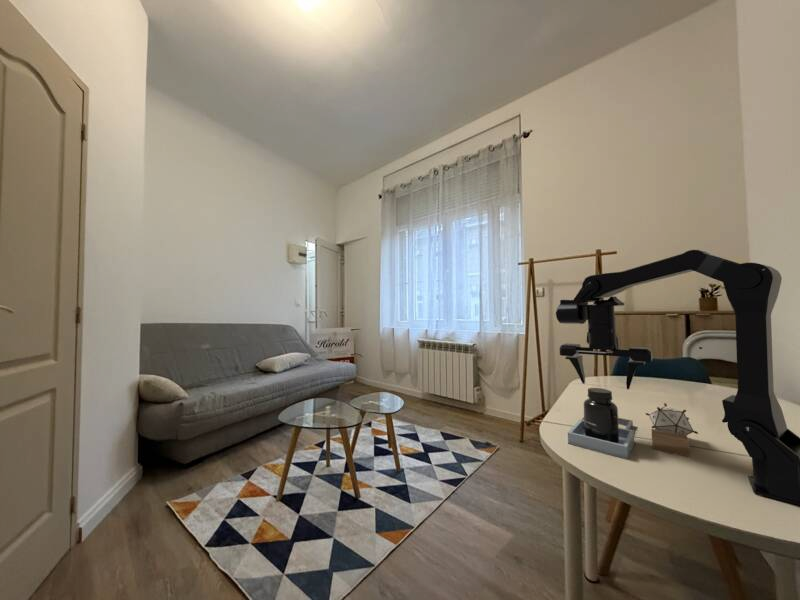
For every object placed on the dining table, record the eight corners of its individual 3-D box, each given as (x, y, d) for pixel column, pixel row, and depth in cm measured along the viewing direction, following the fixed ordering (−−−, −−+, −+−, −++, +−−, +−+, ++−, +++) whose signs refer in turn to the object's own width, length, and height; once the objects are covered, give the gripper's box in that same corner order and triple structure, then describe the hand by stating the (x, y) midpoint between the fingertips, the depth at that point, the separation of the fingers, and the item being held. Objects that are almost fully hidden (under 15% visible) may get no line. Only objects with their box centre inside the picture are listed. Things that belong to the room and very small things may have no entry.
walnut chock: (690, 457, 62) (689, 441, 62) (653, 450, 66) (652, 434, 66) (687, 450, 65) (686, 434, 65) (652, 443, 69) (651, 428, 69)
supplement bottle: (583, 441, 69) (580, 391, 70) (587, 432, 74) (584, 385, 75) (618, 449, 65) (615, 395, 65) (620, 439, 70) (617, 389, 70)
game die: (668, 456, 69) (642, 424, 69) (656, 431, 76) (632, 402, 77) (714, 447, 64) (686, 412, 65) (697, 421, 72) (672, 389, 72)
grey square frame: (627, 438, 71) (627, 432, 72) (579, 427, 79) (579, 421, 79) (632, 426, 79) (632, 420, 79) (588, 417, 86) (588, 412, 86)
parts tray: (627, 459, 62) (627, 446, 62) (568, 443, 70) (567, 432, 70) (634, 441, 70) (633, 430, 70) (580, 429, 78) (579, 419, 78)
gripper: (651, 323, 73) (655, 385, 72) (568, 322, 86) (571, 375, 85) (648, 325, 65) (653, 395, 64) (557, 324, 78) (560, 383, 77)
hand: (605, 386), depth 73 cm, fingers open, 9 cm apart
